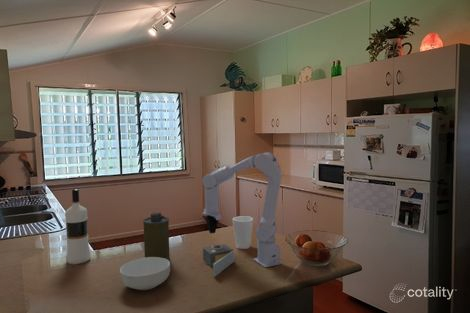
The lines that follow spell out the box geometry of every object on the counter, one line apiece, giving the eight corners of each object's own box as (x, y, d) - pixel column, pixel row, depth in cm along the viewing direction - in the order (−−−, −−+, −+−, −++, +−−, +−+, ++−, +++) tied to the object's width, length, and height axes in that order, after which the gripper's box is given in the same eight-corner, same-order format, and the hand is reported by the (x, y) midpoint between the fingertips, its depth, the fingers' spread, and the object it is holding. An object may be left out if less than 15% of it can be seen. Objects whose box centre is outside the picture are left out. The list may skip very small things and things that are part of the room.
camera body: (233, 261, 137) (233, 248, 137) (210, 266, 133) (210, 252, 132) (225, 255, 145) (224, 242, 144) (203, 259, 140) (202, 246, 140)
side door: (234, 261, 137) (234, 250, 136) (214, 276, 123) (214, 264, 123) (232, 260, 137) (232, 250, 137) (213, 275, 123) (212, 263, 123)
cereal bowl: (151, 271, 129) (150, 253, 129) (180, 283, 119) (180, 263, 118) (110, 287, 116) (109, 267, 116) (139, 302, 106) (138, 280, 105)
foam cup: (253, 250, 150) (253, 221, 149) (232, 250, 151) (232, 221, 150) (252, 243, 160) (252, 216, 159) (233, 243, 160) (232, 216, 159)
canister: (164, 266, 133) (162, 216, 132) (139, 265, 135) (137, 215, 134) (174, 256, 144) (173, 210, 142) (151, 255, 146) (150, 209, 144)
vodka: (63, 266, 135) (59, 191, 133) (69, 257, 144) (65, 188, 142) (88, 263, 137) (85, 190, 135) (92, 255, 146) (89, 186, 144)
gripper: (197, 199, 149) (197, 229, 150) (209, 205, 136) (210, 238, 137) (211, 197, 152) (212, 227, 153) (225, 204, 139) (226, 236, 140)
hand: (212, 232), depth 146 cm, fingers closed
